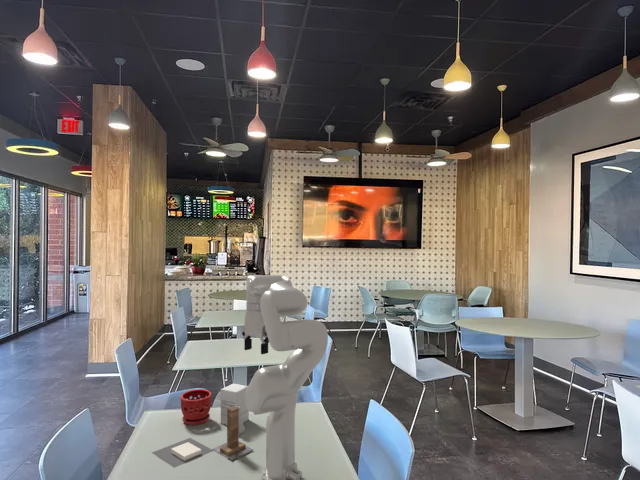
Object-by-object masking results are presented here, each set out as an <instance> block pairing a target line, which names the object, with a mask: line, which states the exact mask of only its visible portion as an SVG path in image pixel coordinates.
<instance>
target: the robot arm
mask: <svg viewBox="0 0 640 480" xmlns="http://www.w3.org/2000/svg"><path fill="white" fill-rule="evenodd" d="M245 306H246V309H245V317H244V325H242V326H241V327H240V330H241V335H242V337H243V338H242V339H243V340H244V341H243V342H244V345H243V346H244V351H248V350H252V348H253V346H252V344H253V342H252V340H253V339H252V338H257V339H260V341H261V343H260V354H261V355H266V354H268V353H269V346H270V347H271V348H272V349H273V350H274V351H276V352H288V351H293V352H291V353H290V354H289V355H288V356H287V358H286V360H285V362H283V363H281V364H277V365H271V366H264V367H261V368H259V369H257V370H256V371H255V373H254V374H253V376H252V378H251V380H250V382H249V384H248V385H247V386H248V388H247V391H246V394H245V405H246V408H247V410H248V411H249V414H251V415H253V416H254V415H262V414H263V415H264V414H267V413H269V415H268V417H267V420H266V426H265V427H266V433H265V437H266V438H265V440H266V441H265V442H266V443H265V445H266V446H265V447H266V448H265V450H266V451H265V452H266V453H265V455H266V456H265V457H266V459H265V460H266V461H265V467H264V468H263V469H262V471H261V479H262V480H300V478H301V476H302V473H303V472H302V471H301V470H300V469H299V467H298V463H297V462H296V461H295V459H296V458H295V456H296V455H295V452H296V450H295V448H296V447H295V446H296V445H295V442H296V441H295V440H296V439H295V436H296V435H295V434H296V433H295V432H296V429H295V428H296V426H295V425H296V422H295V421H296V408H297V401H298V396H299V395H298V394H299V391H300V390H301V388H302V387H303V385H305V382H306V381H307V379H308V378H309V377H310V374H311V373H312V372H313V371H314V370H315V368H316V367H318V365H319V364H320V363H321V361H322V360H323V358H324V356H325V354H326V351H327V348H328V341H329V336H328V335H329V334H328V329H327V327H326V326H325V323H323V322H321V321H320V320H316V319H299V320H298V319H297V320H288V321H287V320H286V321H281V317H282V318H283V317H294V316H297V315H301V314H302V313H303V312H305V310H306V309H307V307H308V299H307V296H306V295H305V293H303V292H302V291H301V290H299V289H297V288H295V287H293V283H292V281H291V279H290V278H289V277H286V276H284V275H278V274H276V275H275V274H273V275H271V274H270V275H269V274H268V275H262V274H251V275H248V276H247V277H246V305H245Z"/></svg>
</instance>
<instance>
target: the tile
mask: <svg viewBox="0 0 640 480" xmlns="http://www.w3.org/2000/svg"><path fill="white" fill-rule="evenodd" d="M171 453H172V454H174V455H175V456H177V457H179V458H180V459H182V460H184V461H185V460H188V459H190V458H192V457H195V456H197V455H199V454H201V449H200V448H198V447H196V446H194V445H192V444H191V443H189V442H187V443H184V444H182V445H179V446H177V447H174V448H172V449H171Z"/></svg>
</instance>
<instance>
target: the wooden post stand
mask: <svg viewBox="0 0 640 480" xmlns="http://www.w3.org/2000/svg"><path fill="white" fill-rule="evenodd" d="M226 427H227V428H226V443H227V445H226V446H223V447H221V448H220V452H222V453H224V454H226V455H230V454H233V453H235V452H237V451H239V450H241V449H244V448H245V446H246V444H245V443H243V442H242V441H240V439H239V436H240V435H239V408H236V407H231V408H228V409H227V425H226Z"/></svg>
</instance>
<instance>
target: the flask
mask: <svg viewBox="0 0 640 480" xmlns="http://www.w3.org/2000/svg"><path fill="white" fill-rule="evenodd" d="M236 408H239V436H240V435H243V434H244V433H245V431H246V428H245V425H244V423H243V422H242V420H241V417H240V407H236Z"/></svg>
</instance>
